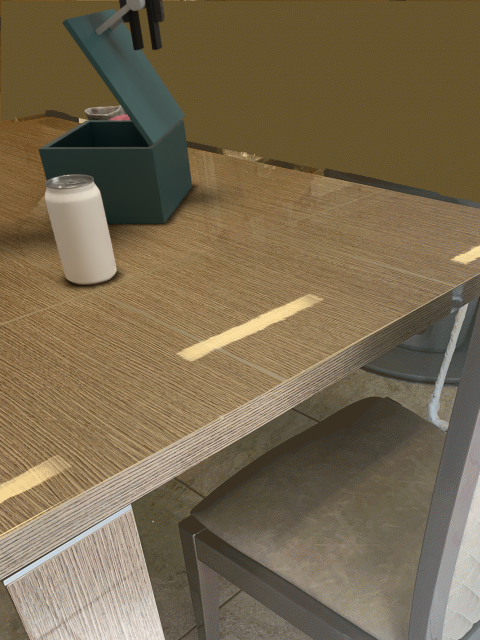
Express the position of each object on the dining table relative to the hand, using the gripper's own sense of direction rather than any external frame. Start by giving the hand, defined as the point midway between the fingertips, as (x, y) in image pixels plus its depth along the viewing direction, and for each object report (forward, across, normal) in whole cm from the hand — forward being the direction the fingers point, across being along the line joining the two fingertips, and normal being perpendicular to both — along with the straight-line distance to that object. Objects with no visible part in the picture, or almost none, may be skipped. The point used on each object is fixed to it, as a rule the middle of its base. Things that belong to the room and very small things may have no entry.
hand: (148, 48), depth 94 cm
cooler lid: (+4, +3, 0) cm, 5 cm away
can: (+23, +3, +30) cm, 38 cm away
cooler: (+22, +7, 0) cm, 24 cm away
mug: (+23, +22, -43) cm, 53 cm away
